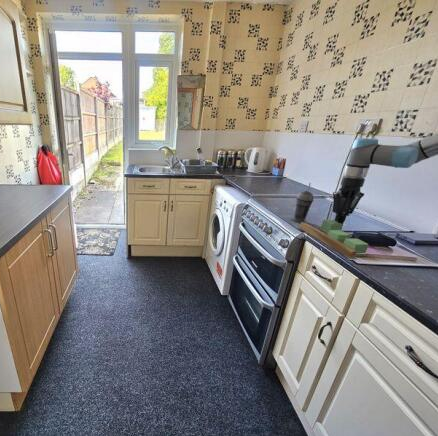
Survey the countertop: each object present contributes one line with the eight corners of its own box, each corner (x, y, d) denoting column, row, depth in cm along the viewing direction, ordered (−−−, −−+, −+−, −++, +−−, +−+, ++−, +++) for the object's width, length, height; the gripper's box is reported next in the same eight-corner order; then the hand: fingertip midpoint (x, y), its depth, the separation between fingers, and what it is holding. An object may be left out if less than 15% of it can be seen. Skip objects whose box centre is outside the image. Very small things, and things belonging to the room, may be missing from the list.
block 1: (330, 229, 115) (333, 219, 113) (338, 234, 110) (342, 224, 109) (320, 229, 115) (323, 220, 113) (328, 234, 110) (331, 224, 108)
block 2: (353, 249, 97) (357, 238, 95) (364, 256, 92) (368, 244, 90) (341, 250, 96) (345, 238, 94) (351, 256, 92) (356, 244, 90)
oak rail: (303, 228, 116) (305, 222, 115) (354, 258, 90) (357, 251, 89) (299, 228, 116) (301, 222, 115) (349, 258, 90) (352, 251, 89)
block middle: (336, 240, 104) (340, 229, 102) (346, 246, 100) (350, 235, 98) (325, 240, 104) (329, 230, 102) (334, 246, 99) (338, 235, 97)
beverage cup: (303, 219, 128) (314, 181, 120) (309, 224, 121) (321, 184, 114) (288, 217, 129) (298, 180, 122) (293, 223, 122) (303, 183, 115)
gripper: (360, 175, 107) (343, 224, 116) (332, 174, 106) (317, 224, 115) (376, 178, 100) (357, 231, 109) (347, 178, 99) (330, 231, 108)
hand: (337, 227), depth 112 cm, fingers closed
